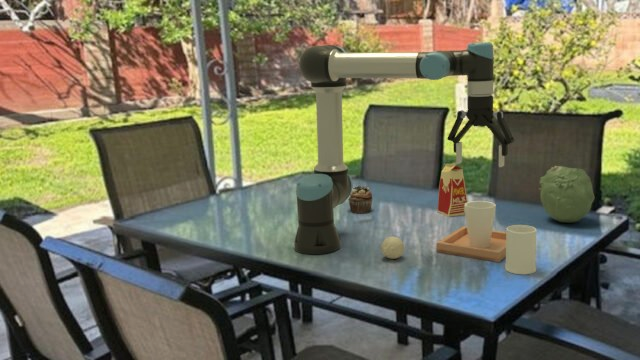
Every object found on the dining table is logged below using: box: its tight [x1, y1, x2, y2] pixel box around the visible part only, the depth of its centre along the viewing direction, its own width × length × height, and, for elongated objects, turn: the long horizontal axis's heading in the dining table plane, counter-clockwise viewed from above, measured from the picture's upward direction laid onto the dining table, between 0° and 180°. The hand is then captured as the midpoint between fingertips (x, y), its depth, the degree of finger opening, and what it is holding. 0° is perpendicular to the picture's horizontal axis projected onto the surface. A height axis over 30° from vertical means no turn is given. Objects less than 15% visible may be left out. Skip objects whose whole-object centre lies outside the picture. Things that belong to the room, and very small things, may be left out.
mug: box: [504, 224, 537, 275], centre depth 178 cm, size 12×8×12 cm
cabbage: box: [538, 165, 595, 224], centre depth 219 cm, size 16×19×20 cm
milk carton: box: [437, 162, 469, 218], centre depth 237 cm, size 9×9×20 cm
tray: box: [436, 226, 506, 263], centre depth 198 cm, size 20×20×3 cm
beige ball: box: [380, 236, 405, 260], centre depth 192 cm, size 7×7×7 cm
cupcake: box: [347, 185, 374, 214], centre depth 247 cm, size 10×10×10 cm
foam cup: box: [464, 200, 497, 248], centre depth 196 cm, size 10×9×13 cm
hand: (479, 164), depth 192 cm, fingers open, 13 cm apart
